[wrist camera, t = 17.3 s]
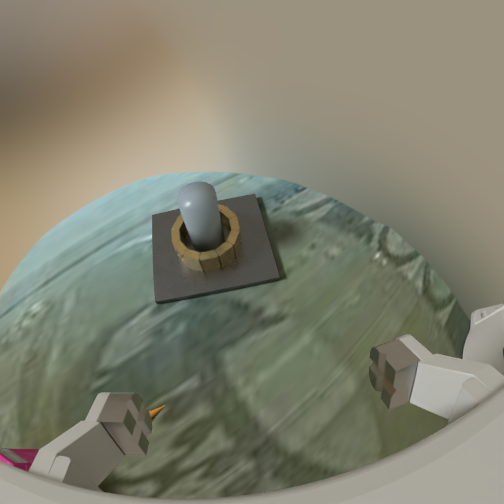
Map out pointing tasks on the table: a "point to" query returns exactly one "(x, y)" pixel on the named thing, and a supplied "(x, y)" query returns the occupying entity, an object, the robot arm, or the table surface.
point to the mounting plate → (225, 279)
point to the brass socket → (214, 257)
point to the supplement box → (18, 457)
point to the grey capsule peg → (201, 215)
